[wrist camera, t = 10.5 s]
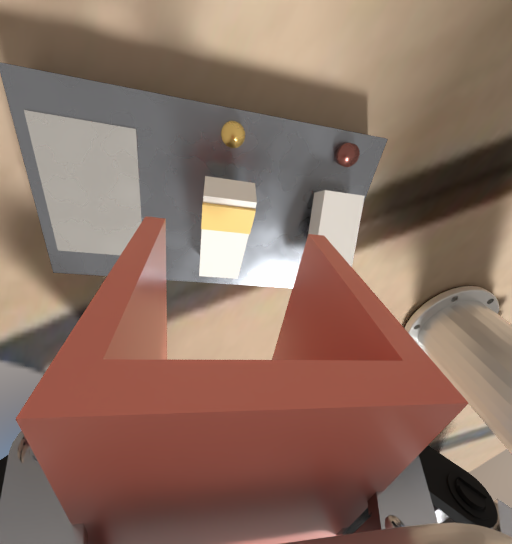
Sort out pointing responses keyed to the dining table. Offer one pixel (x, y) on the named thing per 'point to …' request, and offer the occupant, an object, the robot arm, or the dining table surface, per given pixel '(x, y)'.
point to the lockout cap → (232, 412)
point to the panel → (171, 172)
